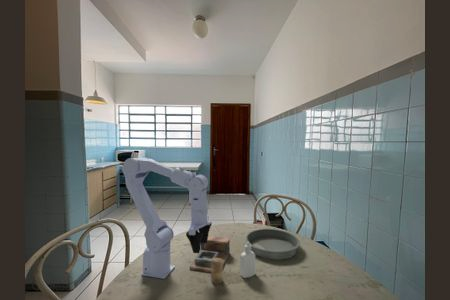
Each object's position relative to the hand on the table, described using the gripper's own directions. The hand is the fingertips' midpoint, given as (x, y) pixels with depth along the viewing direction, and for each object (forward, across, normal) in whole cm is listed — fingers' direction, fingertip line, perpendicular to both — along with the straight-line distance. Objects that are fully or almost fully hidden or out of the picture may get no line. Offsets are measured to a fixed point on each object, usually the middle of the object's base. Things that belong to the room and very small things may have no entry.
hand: (200, 247), depth 76 cm
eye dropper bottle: (+12, +6, -16) cm, 20 cm away
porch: (+11, +12, 0) cm, 16 cm away
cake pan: (+12, +30, -24) cm, 40 cm away
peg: (+11, 0, -6) cm, 12 cm away
